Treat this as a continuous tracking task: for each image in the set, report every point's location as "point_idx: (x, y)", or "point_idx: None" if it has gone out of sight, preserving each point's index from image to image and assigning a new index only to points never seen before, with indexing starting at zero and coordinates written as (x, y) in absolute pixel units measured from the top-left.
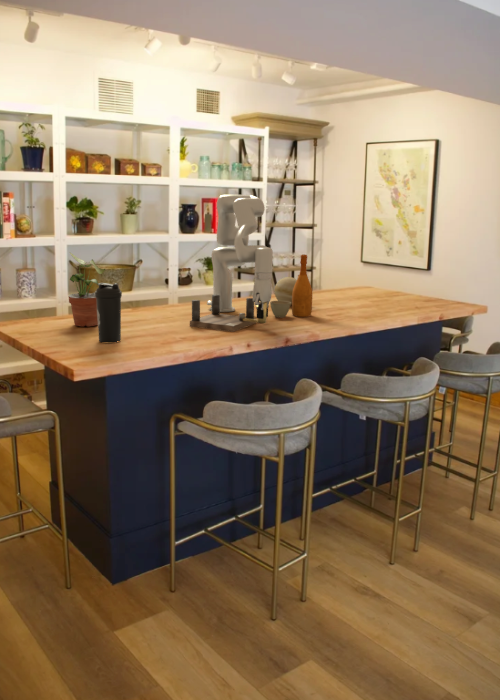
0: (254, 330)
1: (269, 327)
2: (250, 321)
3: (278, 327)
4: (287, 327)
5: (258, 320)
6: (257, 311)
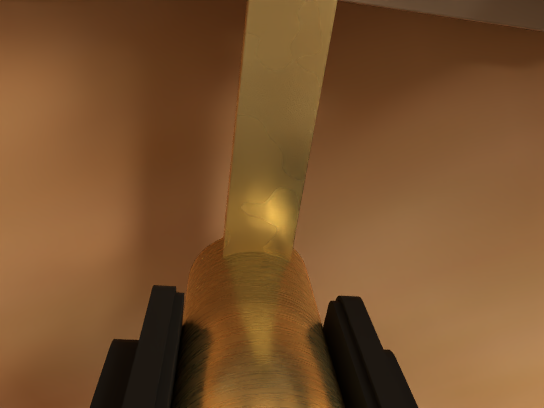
0: (114, 187)
1: (364, 275)
2: (237, 106)
3: (394, 343)
4: (418, 400)
5: (202, 269)
6: (127, 399)
